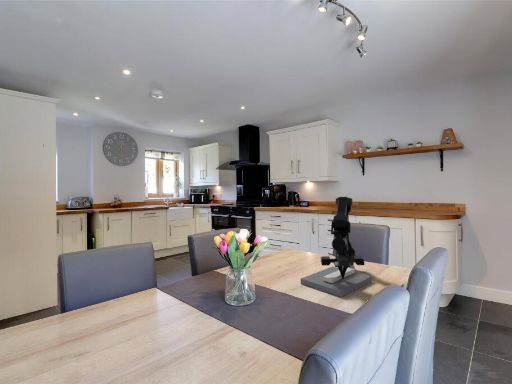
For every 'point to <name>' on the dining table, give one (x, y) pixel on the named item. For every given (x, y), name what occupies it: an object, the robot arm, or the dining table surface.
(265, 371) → the dining table surface
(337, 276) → the bar
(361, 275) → the board
